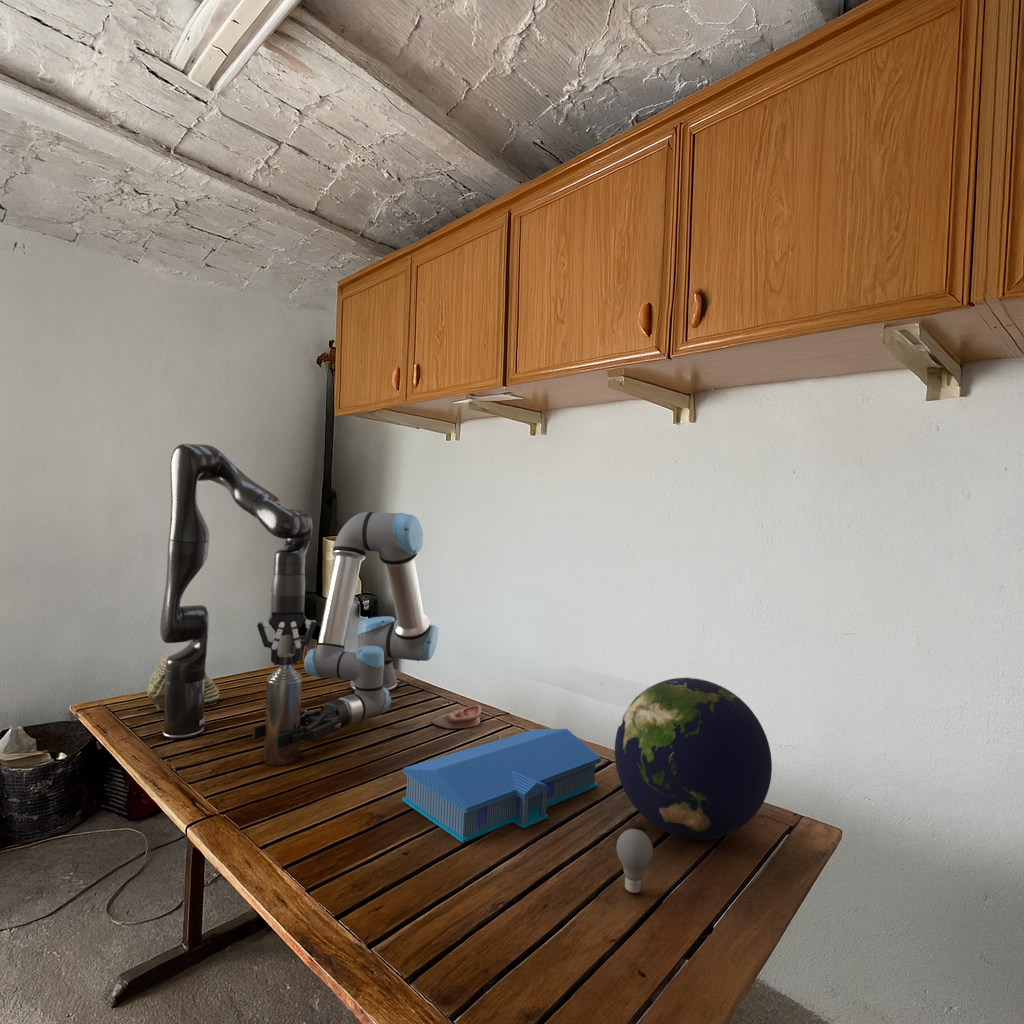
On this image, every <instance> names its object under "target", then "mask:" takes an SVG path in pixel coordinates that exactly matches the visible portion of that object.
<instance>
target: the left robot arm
mask: <svg viewBox="0 0 1024 1024" xmlns="http://www.w3.org/2000/svg"><path fill="white" fill-rule="evenodd" d="M169 472H170V473H169V474H170V475H169V477H170V518H169V520H170V521H169V530H168V531H169V533H168V541H167V555H166V557H167V558H166V559H167V561H166V576H165V577H166V579H165V586H164V587H165V588H164V595H163V601H162V607H161V614H160V621H159V632H160V638H161V640H162V641H163V642H164V644H178V643H188V644H187V645H186V646H184V647H183V648H182V649H180V650H179V651H177V652H175V653H173V654H170V655H171V656H169V657H168V658H167V660H166V674H165V705H164V710H163V730H162V737H164V738H166V739H169V740H185V739H190V738H191V739H192V738H194V737H197V736H199V735H202V734H203V732H204V730H205V729H204V726H205V725H204V724H205V722H206V719H205V718H206V717H205V707H206V706H205V705H204V693H205V672H206V664H207V663H206V660H207V653H208V639H209V630H210V615H209V614H210V613H209V610H208V609H207V607H206V606H205V605H203V604H198V605H197V604H194V605H193V604H192V605H181V602H182V598H183V596H184V593H185V591H186V590H187V588H188V586H189V584H190V583H191V582H192V581H193V580H194V578H195V577H196V576H197V575H198V573H199V572H200V571H201V569H202V568H203V566H204V565H205V564H206V562H207V561H208V556H209V546H210V530H209V527H208V524H207V522H206V520H205V518H204V516H203V514H202V512H201V510H200V508H199V504H198V498H197V495H198V493H197V491H198V490H197V489H198V482H205V481H206V482H207V481H211V482H212V483H216V484H218V485H220V486H221V487H224V488H225V489H227V491H228V492H229V494H230V496H231V498H232V500H233V501H234V502H235V504H236V506H238V507H239V508H240V509H242V510H243V511H245V512H246V513H247V514H249V515H250V516H252V517H254V518H255V519H257V520H258V521H259V523H260V524H261V526H263V528H264V529H265V530H266V531H267V532H268V533H269V534H270V535H272V536H273V537H276V538H278V539H281V540H285V541H284V545H282V547H280V548H279V549H277V550H276V551H275V553H274V557H273V574H272V575H273V576H272V581H271V589H270V590H271V596H270V597H271V598H270V599H271V602H270V615H269V617H268V619H266V620H264V621H258V622H257V623H256V627H257V630H258V633H259V636H260V639H261V642H262V644H263V645H262V646H263V647H264V648H268V649H270V662H271V663H272V664H273V666H278V664H277V657H278V654H279V653H278V652H279V650H278V646H279V643H280V641H281V637H282V636H288V635H289V636H292V638H293V641H294V647H293V654H294V664H293V665H298V662H300V660H301V650H302V648H303V647H307V646H309V645H310V642H311V640H312V638H313V635H314V632H315V630H316V628H317V622H316V620H314V619H308V618H307V617H306V615H305V600H306V576H305V573H306V572H305V571H306V555H307V552H308V549H309V545H310V542H311V539H312V535H313V528H314V526H313V519H312V516H311V515H310V513H309V512H307V511H306V510H305V509H299V508H285V507H283V506H282V503H281V501H280V498H278V497H277V496H276V495H275V494H274V493H272V492H271V491H269V490H268V489H266V488H265V487H263V486H261V485H260V484H258V483H257V482H255V481H254V480H252V478H250V477H249V476H247V475H246V474H245V473H244V472H243V471H242V470H240V469H239V468H238V467H237V466H236V465H235V463H233V462H232V461H231V460H230V459H229V458H228V457H227V456H226V455H224V453H222V452H221V451H220V450H219V449H218V448H216V447H215V446H213V445H211V444H210V445H209V444H204V443H203V444H198V443H197V444H195V443H181V444H178V445H177V446H175V448H173V451H172V453H171V457H170V464H169ZM269 625H270V627H271V628H272V629H273V631H274V634H273V638H272V641H270V640H269V638H268V635H267V632H266V631H267V630H268V626H269ZM304 625H305V628H306V632H305V635H304V637H303V639H300V638H301V637H300V635H299V631H300V630H301V629H302V627H304Z"/></svg>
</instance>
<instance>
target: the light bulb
mask: <svg viewBox="0 0 1024 1024" xmlns="http://www.w3.org/2000/svg"><path fill="white" fill-rule="evenodd" d="M615 849H616V854H617V857H618V859H619V861H620V863H621V865H622V867H623V873H624V874H623V875H624V876H625V878H624V888H625V890H627V891H628V892H630V893H634V894H635V893H639V892H640V891H641V889H642V887H641V886H642V879H643V877H644V875H645V871H646V868H647V867H648V866H649V864H650V863H651V861H652V859H653V855H654V847H653V843H652V841H651V838H649V836H648V835H647V834H646V833H645V832H643V831H642V830H641V829H636V828H629V829H627V830H625V831H623V832H622V833H621V834H620V835H619V837H618V839H617V841H616V847H615Z"/></svg>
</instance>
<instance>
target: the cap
mask: <svg viewBox="0 0 1024 1024" xmlns="http://www.w3.org/2000/svg"><path fill="white" fill-rule="evenodd" d="M279 665H292V666H293V665H295V664H294V653H291V652H290V653H289V652H283V653H278V657H277V666H279Z"/></svg>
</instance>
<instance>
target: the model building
mask: <svg viewBox="0 0 1024 1024" xmlns="http://www.w3.org/2000/svg"><path fill="white" fill-rule="evenodd" d="M601 762H602V757H601V756H600V755H599V754H597V752H595V751H594V750H593V749H591V748H590V747H589V746H588V745H586V744H585V743H584V742H583V741H582V740H581V739H579V737H577V736H576V735H575V734H574V733H572V731H570V730H569V729H568V728H536V729H535V728H534V729H531V730H528V731H524V732H521V733H517V734H514V735H510V736H507V737H504V738H501V739H497V740H494V741H490V742H487V743H484V744H480V745H477V746H473V747H470V748H467V749H464V750H460V751H457V752H453V753H450V754H447V755H443V756H439V757H437V758H432V759H430V760H426V761H423V762H419V763H417V764H413V765H409V766H406V767H403V768H402V774H403V775H406V796H404V797H402V798H401V801H402V802H403V803H405V804H406V805H408V806H409V807H411V808H412V809H413V810H415V811H417V812H418V813H419V814H420V815H422V816H423V817H424V818H427V819H428V820H429V821H431V822H432V823H433V824H435V825H436V826H438V827H439V828H441V829H442V830H443V831H445V832H446V833H448V834H449V835H451V836H452V837H453V838H455V839H456V840H458V841H459V842H461V843H462V844H464V843H466V842H469V841H471V840H474V839H476V838H478V837H480V836H482V835H485V834H488V833H490V832H493V831H495V830H497V829H499V828H502V827H504V826H507V825H509V824H511V823H513V824H515V825H516V826H517V827H519V828H521V829H526V828H529V827H530V826H533V825H535V824H537V823H540V822H542V821H544V820H546V819H549V814H547V808H549V807H552V806H554V805H557V804H559V803H561V802H564V801H567V800H569V799H571V798H573V797H575V796H578V795H580V794H583V793H585V792H587V791H590V790H593V789H594V788H597V787H599V784H598V783H597V782H596V781H595V778H596V765H598V764H600V763H601Z"/></svg>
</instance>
